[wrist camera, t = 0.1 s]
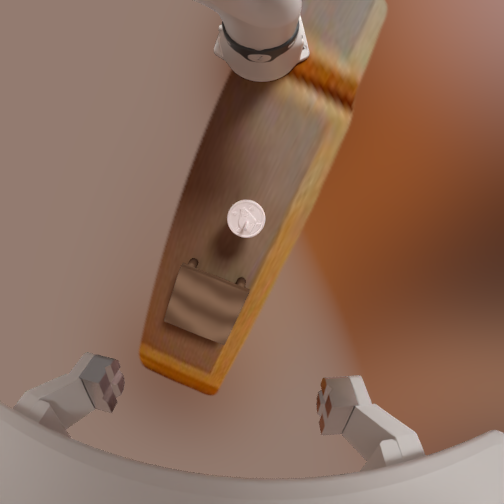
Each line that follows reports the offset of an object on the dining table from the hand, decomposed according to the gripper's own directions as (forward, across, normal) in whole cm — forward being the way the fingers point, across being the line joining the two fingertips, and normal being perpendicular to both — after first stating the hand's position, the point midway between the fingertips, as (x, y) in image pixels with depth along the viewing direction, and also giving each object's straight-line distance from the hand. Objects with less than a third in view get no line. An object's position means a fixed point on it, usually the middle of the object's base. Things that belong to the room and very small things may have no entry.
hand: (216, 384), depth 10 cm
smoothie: (+48, +1, +2) cm, 48 cm away
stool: (+48, +9, +21) cm, 53 cm away
